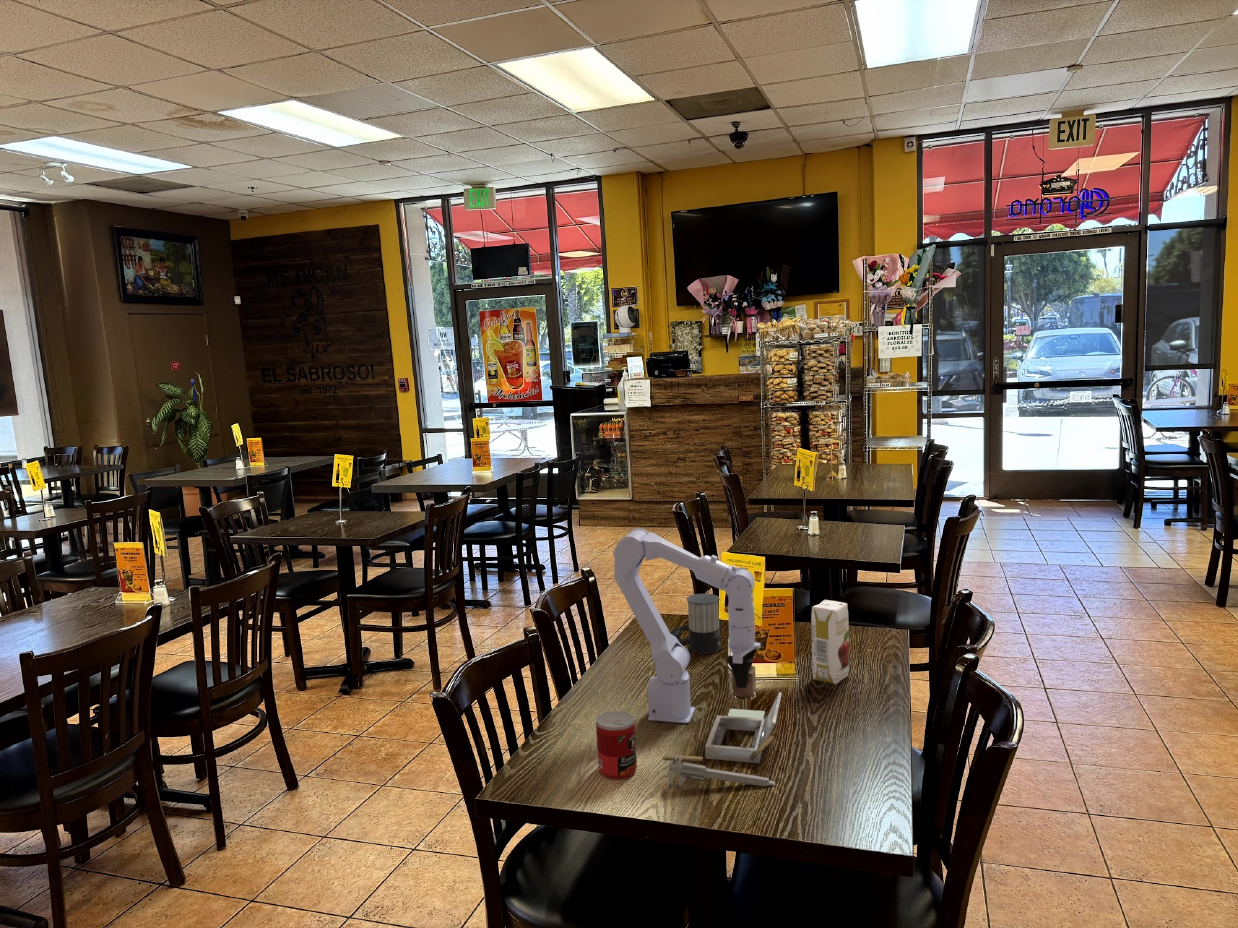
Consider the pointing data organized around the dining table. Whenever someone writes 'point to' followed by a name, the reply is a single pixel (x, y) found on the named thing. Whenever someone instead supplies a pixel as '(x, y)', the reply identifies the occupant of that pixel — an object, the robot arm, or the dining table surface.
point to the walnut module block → (750, 687)
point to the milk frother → (702, 624)
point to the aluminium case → (728, 752)
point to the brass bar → (683, 757)
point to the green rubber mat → (746, 713)
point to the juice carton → (830, 641)
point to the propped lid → (768, 727)
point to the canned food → (616, 744)
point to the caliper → (711, 774)
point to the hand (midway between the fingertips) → (743, 682)
